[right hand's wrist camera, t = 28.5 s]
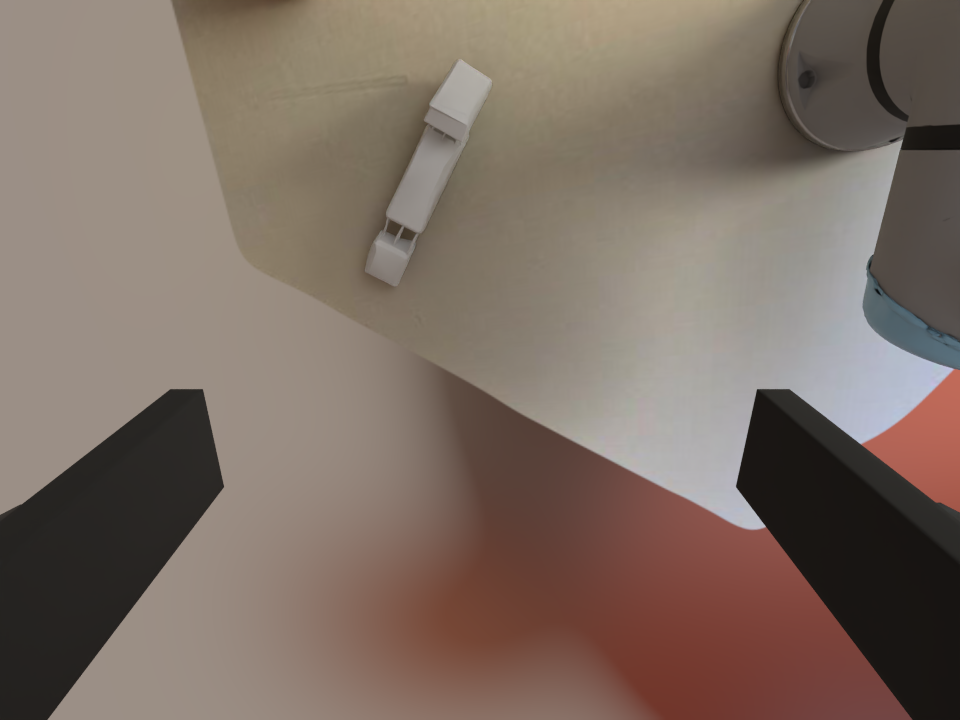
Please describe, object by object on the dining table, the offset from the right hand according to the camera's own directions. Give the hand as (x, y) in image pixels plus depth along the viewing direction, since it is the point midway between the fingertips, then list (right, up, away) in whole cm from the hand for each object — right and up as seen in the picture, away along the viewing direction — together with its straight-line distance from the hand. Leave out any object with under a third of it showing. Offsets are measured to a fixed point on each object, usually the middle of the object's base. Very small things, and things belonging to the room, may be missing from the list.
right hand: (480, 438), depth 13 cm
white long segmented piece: (-5, +19, +36) cm, 41 cm away
